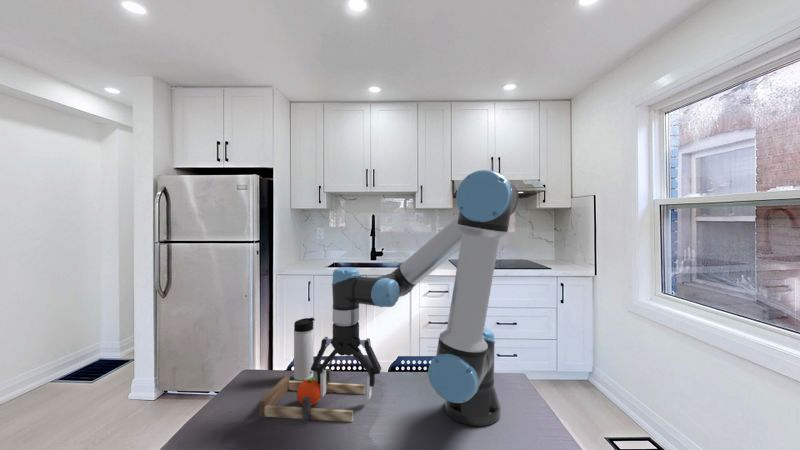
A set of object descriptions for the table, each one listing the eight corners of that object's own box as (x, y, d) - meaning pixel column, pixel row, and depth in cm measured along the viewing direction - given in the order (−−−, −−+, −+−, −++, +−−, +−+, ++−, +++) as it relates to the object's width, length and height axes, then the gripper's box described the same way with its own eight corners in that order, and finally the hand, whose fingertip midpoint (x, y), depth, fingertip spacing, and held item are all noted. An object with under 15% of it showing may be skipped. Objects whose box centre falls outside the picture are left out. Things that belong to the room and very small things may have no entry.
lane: (365, 389, 108) (365, 370, 108) (350, 425, 89) (350, 402, 89) (287, 385, 111) (287, 366, 111) (255, 419, 92) (255, 397, 92)
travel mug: (316, 380, 115) (316, 320, 115) (296, 385, 111) (296, 322, 112) (311, 373, 120) (311, 315, 120) (292, 377, 117) (292, 318, 117)
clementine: (307, 395, 105) (307, 371, 105) (327, 398, 103) (327, 374, 103) (292, 408, 97) (291, 383, 97) (314, 412, 95) (314, 386, 95)
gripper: (390, 319, 102) (390, 391, 102) (308, 317, 104) (309, 387, 105) (386, 327, 94) (386, 405, 95) (299, 324, 97) (299, 399, 97)
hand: (346, 395), depth 100 cm, fingers open, 13 cm apart
